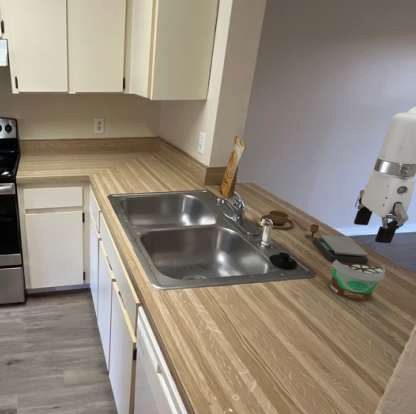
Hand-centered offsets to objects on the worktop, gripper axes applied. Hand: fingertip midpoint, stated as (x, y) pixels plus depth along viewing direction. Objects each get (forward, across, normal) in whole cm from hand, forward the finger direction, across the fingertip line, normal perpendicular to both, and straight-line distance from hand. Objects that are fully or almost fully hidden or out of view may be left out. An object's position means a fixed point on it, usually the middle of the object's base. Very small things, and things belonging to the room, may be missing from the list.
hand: (370, 232), depth 84 cm
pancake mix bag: (+21, +81, +18) cm, 86 cm away
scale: (+21, +26, -9) cm, 35 cm away
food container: (+21, +1, -2) cm, 21 cm away
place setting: (+21, +43, +4) cm, 48 cm away
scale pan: (+18, +26, -10) cm, 33 cm away
